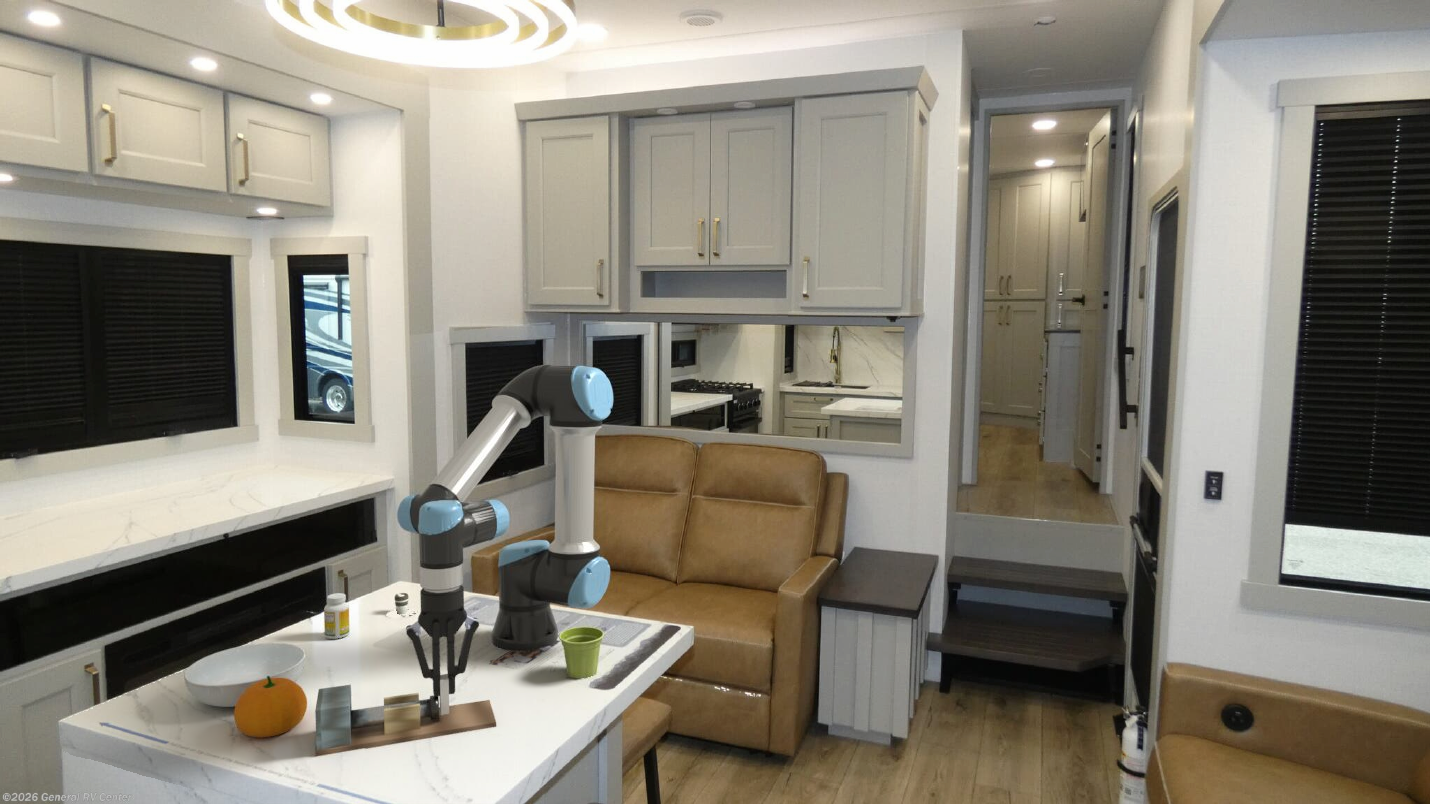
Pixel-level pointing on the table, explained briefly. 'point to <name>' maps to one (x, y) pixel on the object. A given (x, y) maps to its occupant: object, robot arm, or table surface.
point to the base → (390, 722)
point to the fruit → (270, 707)
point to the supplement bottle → (336, 616)
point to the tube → (376, 714)
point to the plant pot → (581, 650)
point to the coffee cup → (401, 603)
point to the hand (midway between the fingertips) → (444, 711)
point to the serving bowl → (241, 671)
